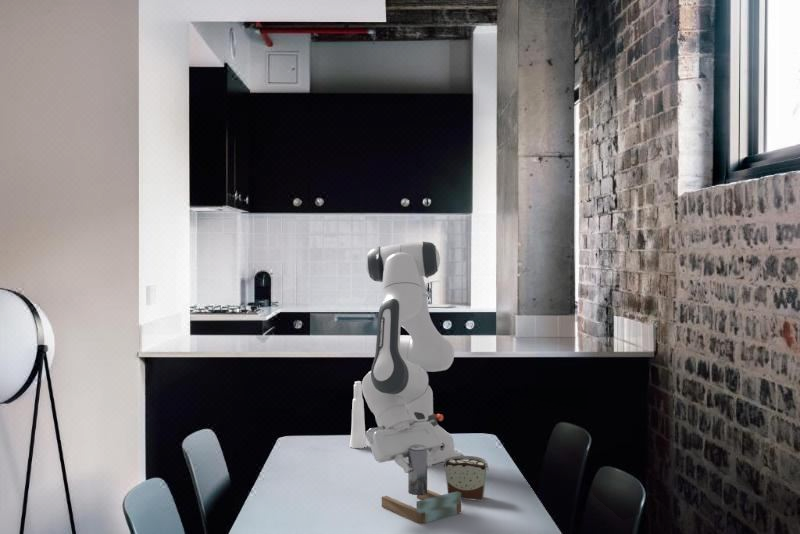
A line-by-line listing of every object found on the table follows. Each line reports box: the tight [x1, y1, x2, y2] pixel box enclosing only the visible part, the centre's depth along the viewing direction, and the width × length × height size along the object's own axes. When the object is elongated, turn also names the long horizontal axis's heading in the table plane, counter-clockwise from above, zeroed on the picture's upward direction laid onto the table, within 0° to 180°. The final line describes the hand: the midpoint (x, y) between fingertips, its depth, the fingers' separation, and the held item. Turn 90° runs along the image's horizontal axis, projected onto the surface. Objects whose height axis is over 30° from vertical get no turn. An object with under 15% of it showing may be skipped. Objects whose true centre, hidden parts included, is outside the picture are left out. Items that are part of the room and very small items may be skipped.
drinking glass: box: [407, 445, 428, 496], centre depth 189 cm, size 5×5×12 cm
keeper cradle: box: [381, 489, 462, 525], centre depth 188 cm, size 13×16×5 cm
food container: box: [442, 455, 489, 501], centre depth 199 cm, size 12×6×10 cm, turn 71°
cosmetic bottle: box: [348, 380, 368, 449], centre depth 252 cm, size 6×6×22 cm
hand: (419, 469), depth 188 cm, fingers closed on drinking glass, 5 cm apart
